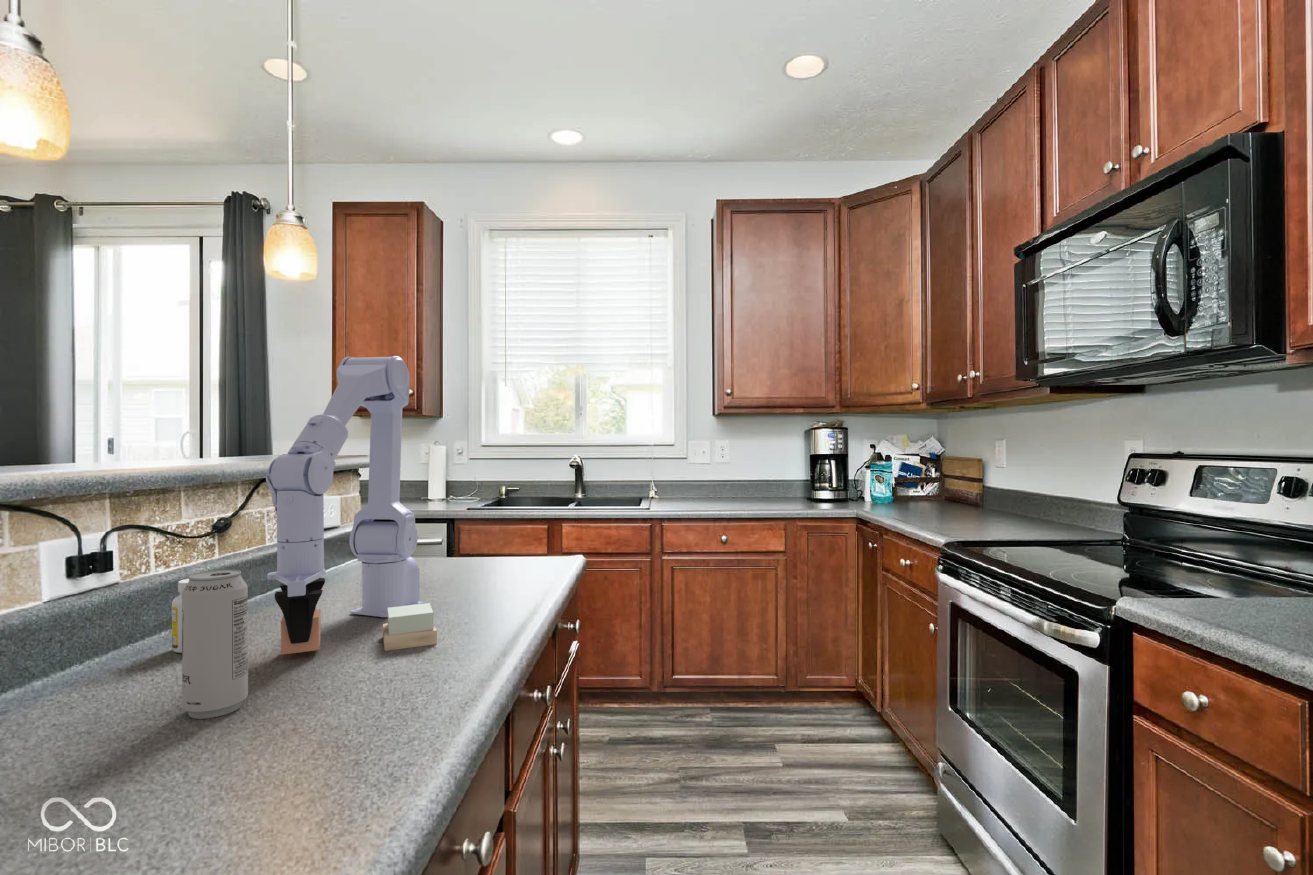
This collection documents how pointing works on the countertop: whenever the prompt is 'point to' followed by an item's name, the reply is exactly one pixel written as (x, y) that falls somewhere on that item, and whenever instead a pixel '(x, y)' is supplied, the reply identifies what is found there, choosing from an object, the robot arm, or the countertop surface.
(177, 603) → the supplement bottle
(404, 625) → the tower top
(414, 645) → the tower base
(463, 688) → the countertop surface
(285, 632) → the terracotta cube
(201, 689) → the energy drink can
